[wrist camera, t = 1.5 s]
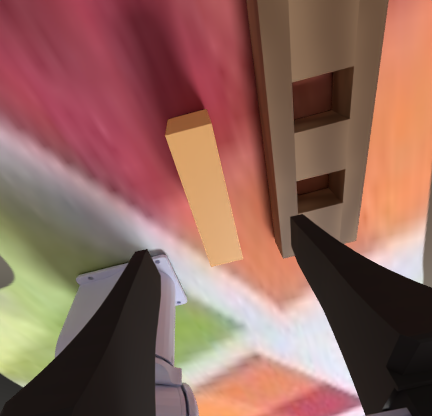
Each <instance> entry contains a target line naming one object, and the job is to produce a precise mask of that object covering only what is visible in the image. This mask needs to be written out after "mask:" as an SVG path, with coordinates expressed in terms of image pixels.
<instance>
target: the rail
mask: <svg viewBox="0 0 432 416" xmlns="http://www.w3.org/2000/svg"><path fill="white" fill-rule="evenodd" d="M388 1H389V0H246V3H247V12H248V20H249V28H250V37H251V45H252V53H253V62H254V70H255V78H256V87H257V95H258V103H259V112H260V120H261V128H262V137H263V145H264V153H265V162H266V170H267V178H268V187H269V195H270V203H271V212H272V220H273V228H274V237H275V242H276V244H277V246H278V249H279V251H280V253H281V255H282V257H283V258H288V257H292V256H295V255H294V252H293V250H292V247H291V228H290V217H291V216H295V215H300V214H303V215H305V216H306V217H307V218H309V219H310V220H311V221H313V222H314V223H315V224H316V225H318V226H319V227H320V228H322V229H323V230H324V231H326V232H327V233H328V234H330V235H331V236H333V237H334V238H335V239H337V240H338V241H340V242H341V243H343V244H345V243H349V242H353V241H356V238H357V230H358V223H359V216H360V208H361V201H362V193H363V186H364V179H365V171H366V164H367V156H368V149H369V141H370V134H371V127H372V119H373V112H374V104H375V97H376V90H377V82H378V75H379V67H380V60H381V52H382V45H383V38H384V30H385V23H386V15H387V8H388ZM330 72H333V85H332V110H330V111H326V112H323V113H319V114H315V115H311V116H307V117H303V118H300V119H296V120H294V116H293V93H292V82H296V81H300V80H304V79H307V78H311V77H315V76H318V75H322V74H326V73H330ZM328 173H329V183H328V188H327V189H323V190H319V191H315V192H311V193H307V194H303V195H299V196H297V183H296V181H300V180H304V179H308V178H312V177H316V176H320V175H324V174H328Z"/></svg>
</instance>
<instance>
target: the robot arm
mask: <svg viewBox="0 0 432 416" xmlns="http://www.w3.org/2000/svg"><path fill="white" fill-rule="evenodd" d="M290 228H291V247H292V250H293V252H294V255H295V257H296V260H297V262H298V264H299V266H300V268H301V270H302V272H303V274H304V275H305V277H306V279H307V281H308V283H309V285H310V286H311V288H312V290H313V292H314V294H315V295H316V297H317V299H318V301H319V303H320V304H321V306H322V308H323V310H324V312H325V315H326V317H327V319H328V322H329V324H330V326H331V329H332V331H333V333H334V336H335V338H336V340H337V343H338V345H339V348H340V350H341V352H342V355H343V357H344V360H345V363H346V365H347V368H348V370H349V373H350V375H351V378H352V380H353V383H354V386H355V388H356V391H357V394H358V396H359V399H360V402H361V404H362V407H363V410H364V413H365V415H366V416H432V288H431V287H428V286H426V285H423V284H421V283H418V282H416V281H413V280H411V279H408V278H406V277H404V276H402V275H400V274H397V273H395V272H393V271H391V270H389V269H387V268H384V267H382V266H380V265H378V264H377V263H375V262H373V261H371V260H369V259H367V258H365V257H364V256H362V255H360V254H359V253H357V252H355V251H354V250H352V249H350V248H349V247H347V246H346V245H344V244H343V243H341V242H340V241H338V240H337V239H335V238H334V237H333V236H331V235H330V234H328V233H327V232H326V231H324V230H323V229H322V228H320V227H319V226H318V225H316V224H315V223H314V222H313V221H311V220H310V219H309V218H307V217H306V216H305V215H303V214H300V215H295V216H291V217H290ZM156 260H159V261H156ZM76 282H77V283H78V284H79V285H80V286H79V288H78V291H77V293H76V296H75V298H74V301H73V303H72V306H71V308H70V310H69V313H68V315H67V318H66V320H65V323H64V325H63V328H62V330H61V333H60V335H59V338H58V341H57V345H56V351H55V359H54V360H53V361H52V362H51V363H50V364H49V365H48V366H47V367H45V368H44V369H43V370H42V371H41V372H40V373H39V374H38V375H37V376H36V377H35V378H34V379H33V380H32V381H30V382H29V383H28V384H27V385H26V386H25V387H24V388H22V389H21V390H20V391H19V392H18V393H17V394H16V395H14V396H13V397H12V398H11V399H10V400H9V401H7V402H6V404H5V405H4V407H3V409H2V411H1V413H0V416H199V412H198V406H197V402H196V399H195V397H194V395H193V392H192V390H191V388H190V386H189V385H188V384H186V383H182V369H181V368H176V367H174V351H175V306H177V305H181V304H185V303H186V302H187V297H186V295H185V293H184V291H183V289H182V286H181V284H180V282H179V280H178V278H177V276H176V274H175V272H174V270H173V268H172V266H171V264H170V262H169V260H168V258H167V256H166V255H158V256H154V257H151V256H150V254H149V252H148V250H147V249H146V250H141V251H137V252H135V253H134V255H133V256H132V258H131V260H130V261H129V263H125V264H121V265H117V266H113V267H109V268H105V269H101V270H97V271H93V272H89V273H85V274H81V275H78V276H77V278H76Z"/></svg>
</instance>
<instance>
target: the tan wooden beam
mask: <svg viewBox="0 0 432 416" xmlns="http://www.w3.org/2000/svg"><path fill="white" fill-rule="evenodd" d="M165 137H166V139H167V142H168V145H169V148H170V151H171V154H172V157H173V159H174V162H175V165H176V168H177V171H178V174H179V177H180V179H181V182H182V185H183V188H184V191H185V194H186V197H187V199H188V202H189V205H190V208H191V211H192V214H193V217H194V219H195V222H196V225H197V228H198V231H199V234H200V237H201V239H202V242H203V245H204V248H205V251H206V254H207V257H208V259H209V262H210V265H211V267H213V266H217V265H221V264H225V263H229V262H233V261H237V260H242V259H243V256H242V252H241V248H240V243H239V239H238V235H237V231H236V226H235V222H234V218H233V213H232V209H231V205H230V201H229V196H228V192H227V188H226V183H225V179H224V175H223V171H222V166H221V162H220V158H219V154H218V149H217V145H216V141H215V136H214V132H213V128H212V124H211V121H210V118H209V115H208V112H207V109H204V110H201V111H197V112H193V113H189V114H186V115H182V116H178V117H174V118H172V119H168V121H167V128H166V134H165Z"/></svg>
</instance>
